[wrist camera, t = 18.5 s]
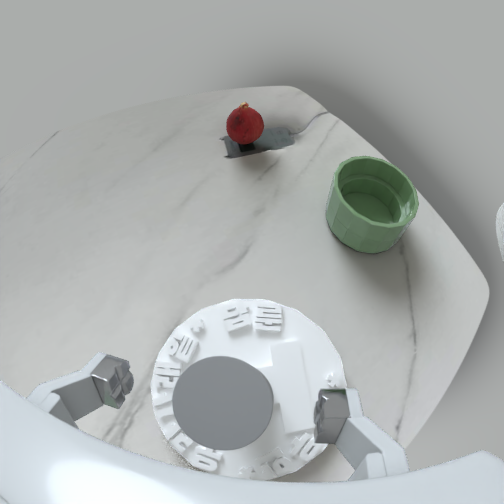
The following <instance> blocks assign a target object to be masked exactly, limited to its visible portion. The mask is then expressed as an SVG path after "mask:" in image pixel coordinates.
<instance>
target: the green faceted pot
mask: <svg viewBox="0 0 504 504" xmlns="http://www.w3.org/2000/svg"><path fill="white" fill-rule="evenodd" d="M418 206H419V202H418V196H417V191H416V189H415V187H414V186H413V184H412V183H411V181H410V179H409V178H408V177H407V176H406V175H405V174H404V173H403V172H402V171H401V170H400V169H399V168H397V167H396V166H394V165H392V164H390V163H388V162H387V161H385V160H383V159H379V158H374V157H370V156H359V157H352V158H350V159H348V160H346V161H344V162H342V163H341V164H340V165H339V167H338V168H337V170H336V171H335V173H334V176H333V180H332V184H331V188H330V192H329V196H328V200H327V203H326V219H327V221H328V224H329V226H330V229H331V231H332V232H333V233H334V234H335V235H336V236H337V237H338V239H339V240H340V241H341V242H342V243H344V244H345V245H347V246H349V247H351V248H353V249H354V250H356V251H360V252H366V253H372V254H374V253H378V252H383V251H387V250H388V249H390V248H391V247H392V246H393V245H394V244H395V243H397V241H398V240H399V239H400V237H401V236H402V235H403V233H404V232H405V230H406V229H407V228H408V226H409V225H410V223H411V222H412V220H413V219H414V218H415V216H416V213H417V209H418Z"/></svg>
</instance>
